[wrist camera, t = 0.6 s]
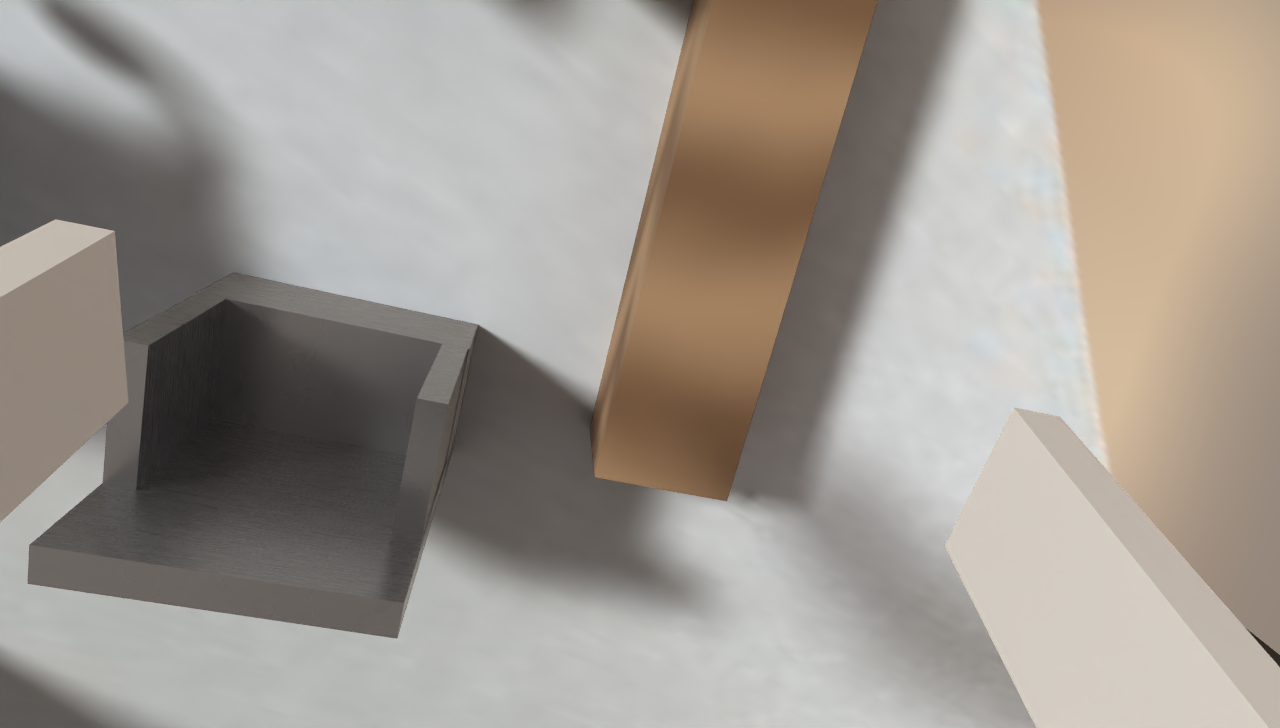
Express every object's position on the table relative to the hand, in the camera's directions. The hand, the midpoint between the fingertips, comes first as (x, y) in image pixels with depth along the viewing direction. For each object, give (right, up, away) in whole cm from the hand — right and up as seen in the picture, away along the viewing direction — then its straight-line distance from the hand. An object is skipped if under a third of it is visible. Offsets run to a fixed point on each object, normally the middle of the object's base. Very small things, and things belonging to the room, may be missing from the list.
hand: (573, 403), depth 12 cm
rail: (+4, +7, +16) cm, 18 cm away
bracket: (-9, 0, +17) cm, 19 cm away
